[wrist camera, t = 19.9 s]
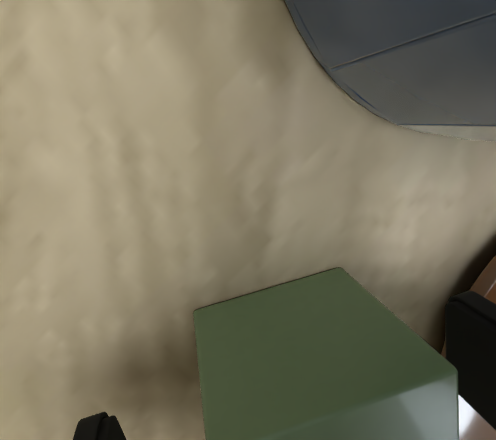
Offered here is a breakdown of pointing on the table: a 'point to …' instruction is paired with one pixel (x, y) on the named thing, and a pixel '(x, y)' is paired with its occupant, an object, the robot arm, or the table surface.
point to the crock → (410, 59)
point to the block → (320, 367)
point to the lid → (470, 422)
